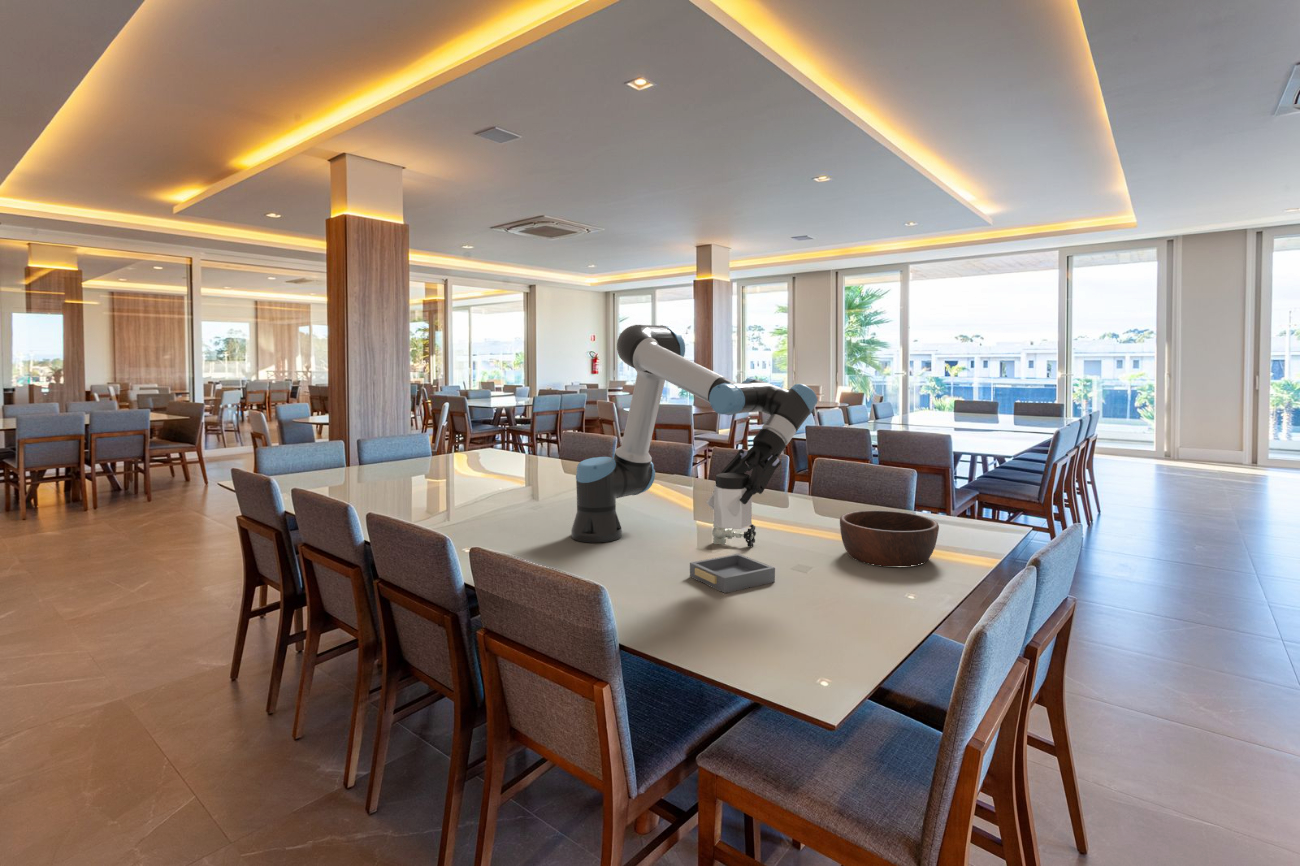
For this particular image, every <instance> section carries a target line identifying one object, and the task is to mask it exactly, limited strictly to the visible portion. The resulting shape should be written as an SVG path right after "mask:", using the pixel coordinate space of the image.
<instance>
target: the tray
mask: <svg viewBox="0 0 1300 866" xmlns="http://www.w3.org/2000/svg"><path fill="white" fill-rule="evenodd" d="M690 576H691V577H690ZM689 577H690V578H692V577H693V578H692V579H694V578H695V579H694V580H696V579H697V580H696V581H698V580H699V581H698V582H700V581H702V582H703V584H704V583H705V585H706V584H708V585H710V586H709V587H711V586H712V587H711V588H713V587H714V588H713V589H715V588H716V589H715V590H717V589H718V590H717V591H719V590H720V591H719V592H721V591H722V592H721V593H723V592H724V594H727V593H726V592H728V593H731V591H732V592H735V591H736V590H737V591H741V590H745V588H746V589H749V587H750V588H754V586H755V587H759V586H763V585H762V584H764V585H768V584H771V583H772V582H773V583H775V581H776V567H774V566H772V565H769V564H766V563H763V562H761V561H758V560H756V559H753V558H751V557H748V556H745V555H742V554H740V553H735V554H729V555H723V556H718V557H713V558H707V559H703V560H697V561H691V562H689ZM702 582H701V583H702ZM708 585H707V586H708ZM740 589H741V590H740Z"/></svg>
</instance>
